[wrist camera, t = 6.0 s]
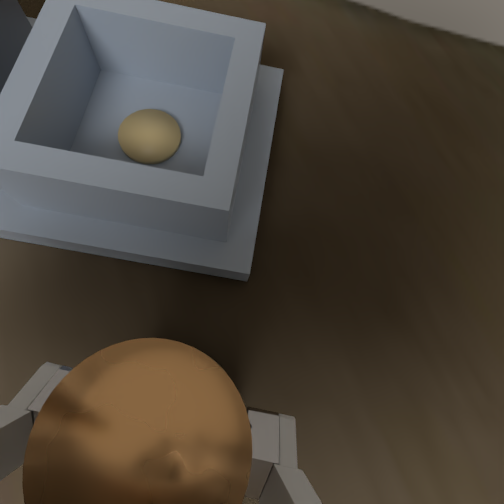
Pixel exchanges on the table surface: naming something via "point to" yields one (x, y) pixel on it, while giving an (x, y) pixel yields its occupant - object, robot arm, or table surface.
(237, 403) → the cylinder
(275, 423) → the robot arm
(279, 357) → the table surface
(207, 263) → the checker
